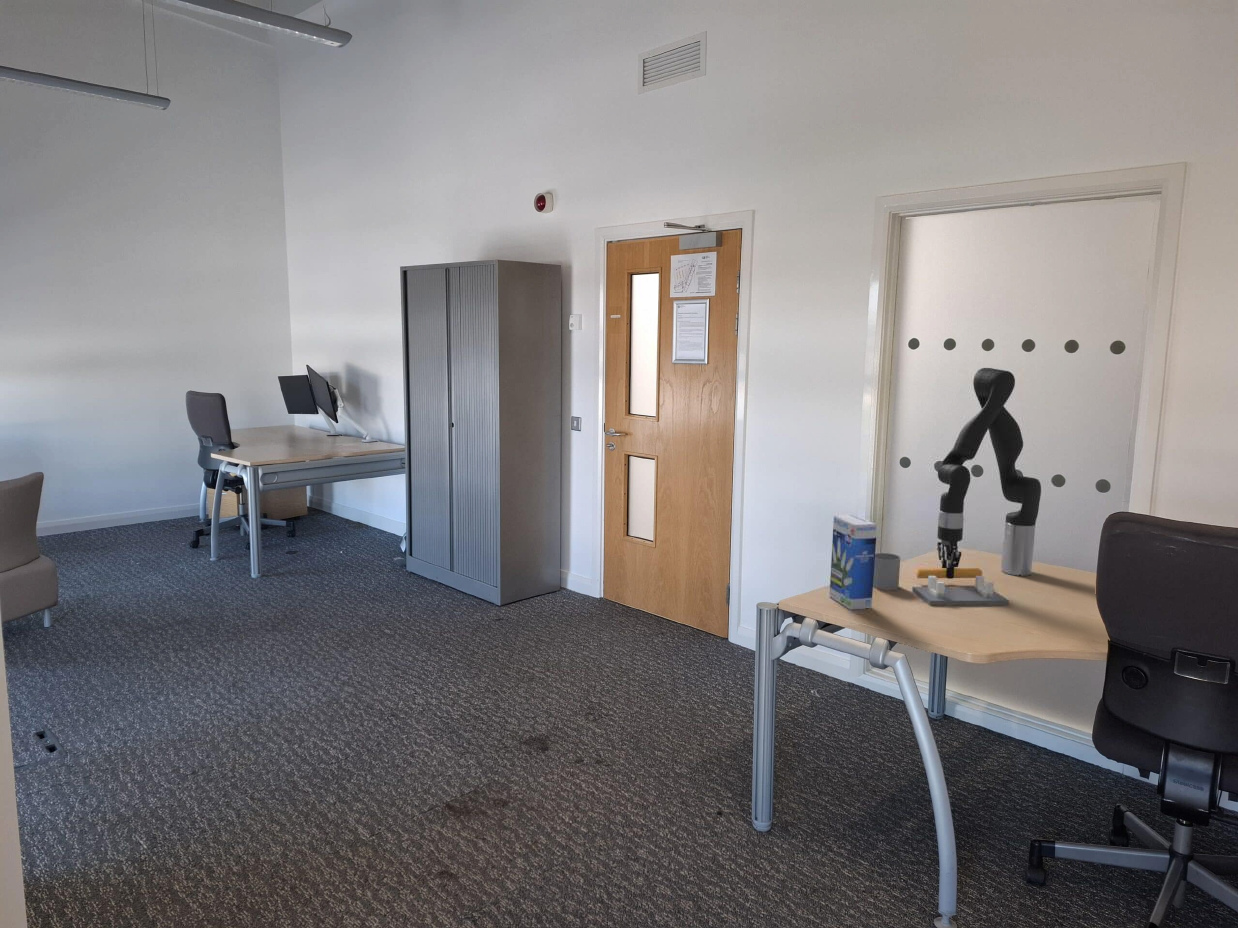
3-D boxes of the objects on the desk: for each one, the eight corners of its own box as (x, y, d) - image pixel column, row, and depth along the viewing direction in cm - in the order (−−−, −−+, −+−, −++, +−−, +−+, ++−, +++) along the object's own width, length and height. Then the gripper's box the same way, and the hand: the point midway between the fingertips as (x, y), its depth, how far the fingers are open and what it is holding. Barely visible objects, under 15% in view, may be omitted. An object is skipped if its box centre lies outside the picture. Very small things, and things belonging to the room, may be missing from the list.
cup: (889, 592, 262) (891, 561, 260) (866, 586, 268) (868, 556, 266) (903, 586, 267) (905, 556, 266) (880, 581, 273) (882, 551, 272)
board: (912, 591, 263) (913, 572, 262) (987, 591, 263) (988, 572, 263) (929, 605, 249) (931, 586, 248) (1008, 605, 250) (1010, 586, 249)
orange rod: (919, 579, 268) (920, 570, 268) (916, 576, 272) (916, 567, 271) (983, 579, 269) (984, 569, 268) (979, 576, 272) (979, 566, 271)
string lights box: (828, 596, 257) (832, 515, 253) (850, 594, 259) (854, 513, 255) (850, 610, 244) (855, 524, 240) (873, 608, 246) (878, 523, 242)
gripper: (971, 530, 260) (968, 583, 263) (953, 519, 274) (949, 570, 277) (948, 530, 260) (944, 583, 263) (930, 520, 274) (927, 570, 277)
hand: (947, 576), depth 270 cm, fingers closed on orange rod, 3 cm apart
